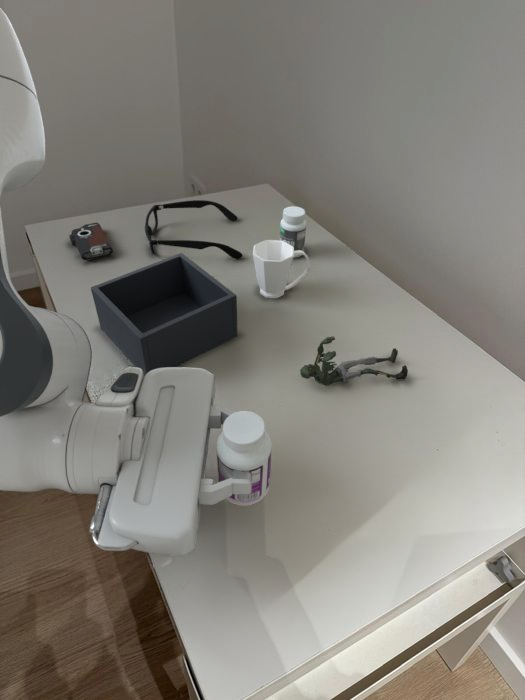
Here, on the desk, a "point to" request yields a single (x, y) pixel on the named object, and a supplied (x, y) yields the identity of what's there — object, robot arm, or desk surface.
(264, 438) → the pill bottle
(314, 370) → the zombie figurine
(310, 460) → the desk surface
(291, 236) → the pill bottle
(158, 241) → the glasses
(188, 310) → the bin
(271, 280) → the cup
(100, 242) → the camera
